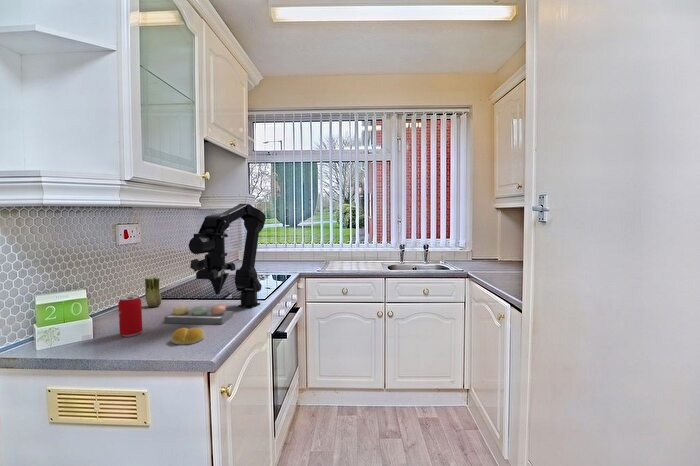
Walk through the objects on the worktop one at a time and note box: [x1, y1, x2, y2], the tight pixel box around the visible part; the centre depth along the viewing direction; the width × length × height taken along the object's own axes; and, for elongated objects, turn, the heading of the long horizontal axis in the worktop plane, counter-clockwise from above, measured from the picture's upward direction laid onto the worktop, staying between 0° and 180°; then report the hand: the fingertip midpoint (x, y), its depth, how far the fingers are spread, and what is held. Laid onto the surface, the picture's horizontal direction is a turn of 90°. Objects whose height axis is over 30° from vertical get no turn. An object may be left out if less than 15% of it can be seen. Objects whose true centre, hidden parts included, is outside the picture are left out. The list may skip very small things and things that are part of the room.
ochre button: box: [172, 305, 189, 315], centre depth 129 cm, size 5×5×2 cm
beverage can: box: [117, 294, 143, 338], centre depth 114 cm, size 6×6×12 cm
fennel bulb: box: [144, 277, 162, 308], centre depth 146 cm, size 6×5×12 cm
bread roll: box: [170, 327, 205, 345], centre depth 109 cm, size 8×9×4 cm
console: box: [163, 309, 234, 325], centre depth 129 cm, size 9×21×2 cm, turn 85°
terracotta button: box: [210, 304, 227, 314], centre depth 128 cm, size 5×5×2 cm
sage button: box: [191, 305, 208, 316], centre depth 129 cm, size 5×5×2 cm
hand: (217, 294), depth 128 cm, fingers closed
